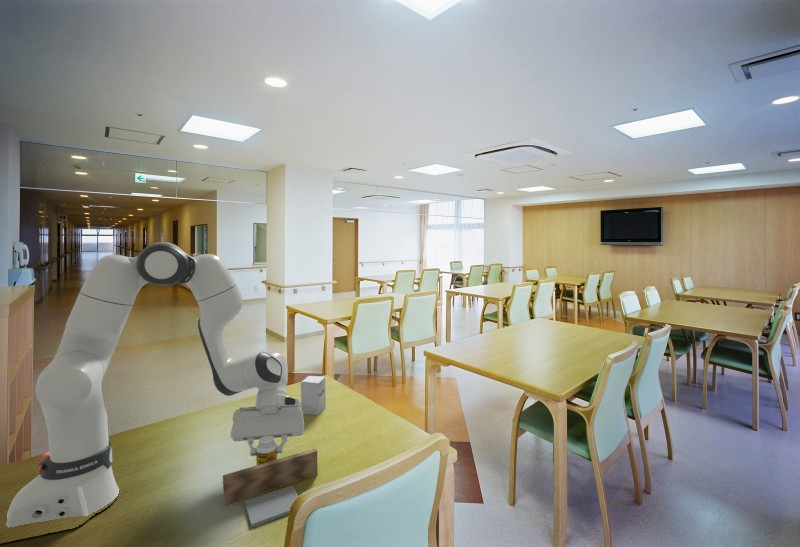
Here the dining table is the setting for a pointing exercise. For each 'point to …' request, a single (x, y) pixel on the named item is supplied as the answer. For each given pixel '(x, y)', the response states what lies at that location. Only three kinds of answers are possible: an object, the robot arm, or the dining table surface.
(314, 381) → the supplement box
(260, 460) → the supplement bottle
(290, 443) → the dining table surface
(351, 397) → the dining table surface
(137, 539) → the dining table surface
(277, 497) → the grey mat
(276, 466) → the walnut screen
